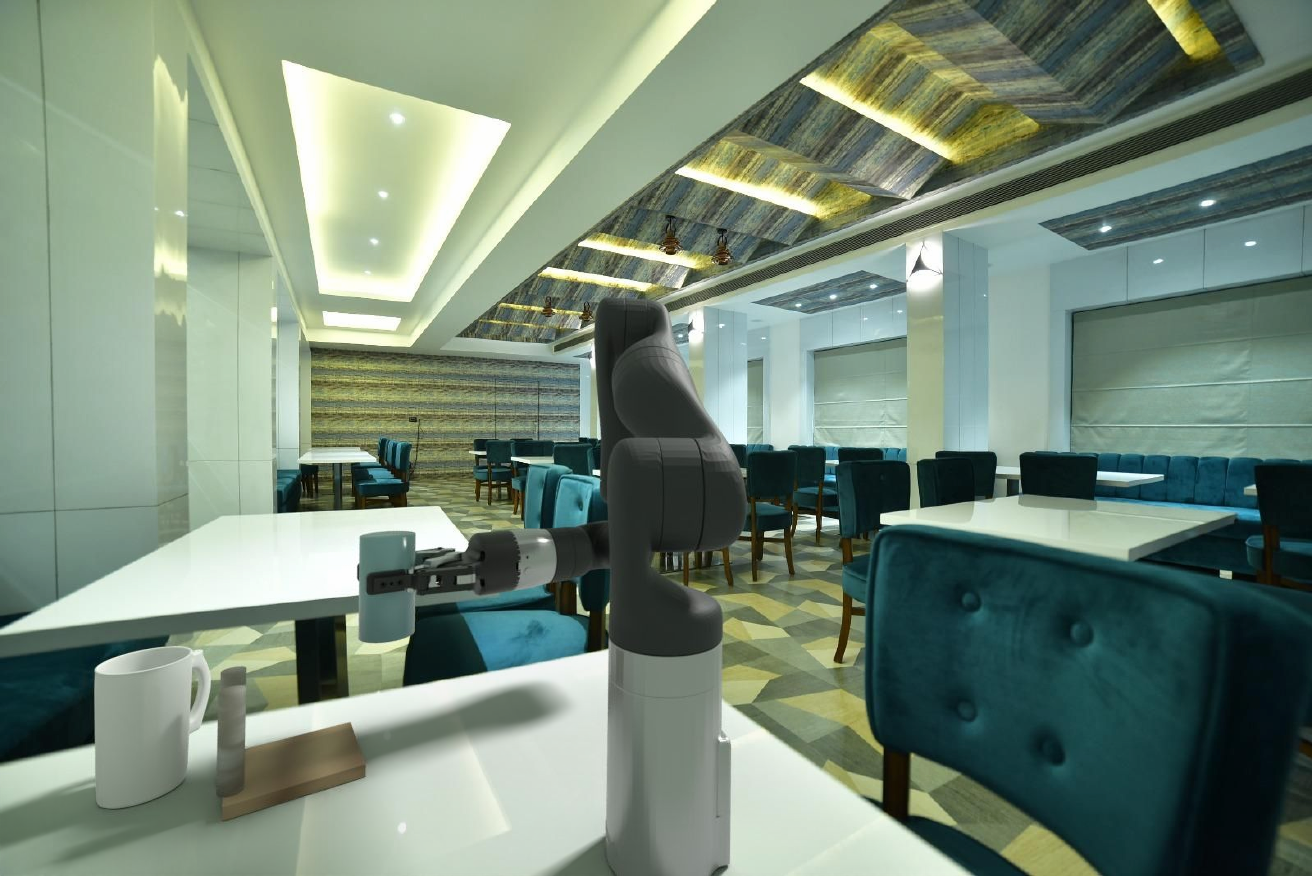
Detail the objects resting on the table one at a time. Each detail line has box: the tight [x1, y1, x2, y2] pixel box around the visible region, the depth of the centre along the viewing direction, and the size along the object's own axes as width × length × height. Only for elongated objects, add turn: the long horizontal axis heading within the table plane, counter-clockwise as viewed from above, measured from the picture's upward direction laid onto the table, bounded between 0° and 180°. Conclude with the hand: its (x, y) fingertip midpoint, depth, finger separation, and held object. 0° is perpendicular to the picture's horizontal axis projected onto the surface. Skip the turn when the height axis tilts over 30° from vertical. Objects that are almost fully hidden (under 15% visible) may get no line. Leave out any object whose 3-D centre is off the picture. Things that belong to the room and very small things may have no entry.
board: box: [215, 665, 367, 822], centre depth 55 cm, size 12×10×10 cm
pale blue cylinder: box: [358, 530, 417, 644], centre depth 61 cm, size 6×6×11 cm
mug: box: [93, 645, 212, 810], centre depth 54 cm, size 10×7×12 cm, turn 174°
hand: (362, 578), depth 60 cm, fingers closed on pale blue cylinder, 5 cm apart
